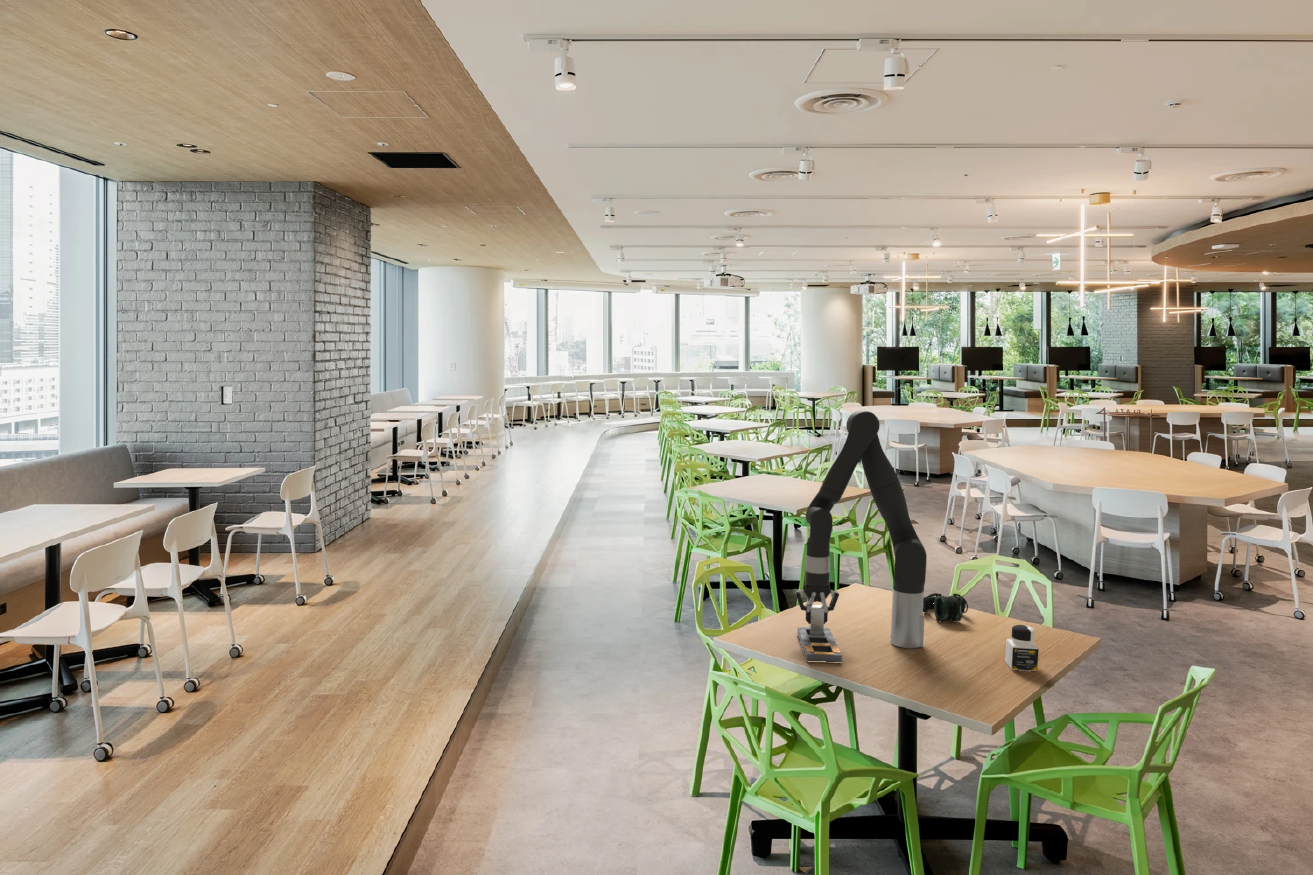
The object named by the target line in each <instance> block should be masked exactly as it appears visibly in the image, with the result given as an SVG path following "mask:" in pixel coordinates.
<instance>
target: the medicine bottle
mask: <svg viewBox="0 0 1313 875" xmlns="http://www.w3.org/2000/svg"><path fill="white" fill-rule="evenodd" d="M1035 632H1036V631H1035V629H1034V628H1033V627H1031V626H1029V625H1024V624H1016V625H1014V626H1012V627H1011V636H1010V637H1011V638H1007V639H1006V646H1005V647H1006V648H1005V663H1006V665H1007V666H1008V667H1009V669H1010V670H1011V671H1015V670H1019V672H1031V671H1037V672H1038V668H1039V666H1038V664H1039V651H1040V650H1039V647H1038V645H1036V643H1035V634H1036V633H1035Z"/></svg>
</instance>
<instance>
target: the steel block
mask: <svg viewBox="0 0 1313 875" xmlns="http://www.w3.org/2000/svg"><path fill="white" fill-rule="evenodd" d="M810 612H811V623H810V624H808V627H809V634H810V635H824V628H825V627H824V626H825V624H824V608H823V606H822V604H813V605H812V607H811V610H810Z"/></svg>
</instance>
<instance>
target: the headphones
mask: <svg viewBox="0 0 1313 875" xmlns="http://www.w3.org/2000/svg"><path fill="white" fill-rule="evenodd" d="M933 603H934V604H933ZM968 605H969V604H968V601H967V600H966V598H965V597H963V596H962V595H961V594H959V593H952V595H949V596H944V595H942V593H937V592H933V593H931V594H929V595H927V596H924V599H923V613H925V614H926V615H927V616H928V617H930V619H932V618H933V616H931V615H930V614H929V613H928V611H934V613H933V614H934V617H935V619H937V620H936V621H938V622H939V621H942V622H945V621H949V620H951V621H952V622H953V621H956V622H961V621H962V618H963V614H966V613H967V612H968V610H969V606H968ZM932 609H934V610H932Z"/></svg>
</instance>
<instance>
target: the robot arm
mask: <svg viewBox="0 0 1313 875" xmlns="http://www.w3.org/2000/svg"><path fill="white" fill-rule="evenodd" d="M845 425H846V431H847V437H846V440H845V442H844V444H843V446H842V449H841V451H840V452H839V455H838V456H837V457H836V459H835V461H834V462H833V464H832V465H831V467H829V470H828V471H827V473H826V475H825V477H824V480H823V482H822V484H821V485H820V488H819V489H818V490H819V491H818V492H817V493H816V495H815V496H814V497H813V499H812V500H811V502H810V503H809V505H808V507H807V510H806V512H805V519H806V522H807V523H808V524H809V527H810V528H809V537H808V538H807V541H806V555H805V556H806V557H805V568H804V569H805V571H804V578H805V580H804V587H803V589H798V590H797V589H796V590H795V591H794V593H795V596H796V598H797V603H798V605H799V608H800V610H801V611H805V621H806V623H808V625H809V624H810V623H811V612H810V610H811V607H812V605H814V603H815V602H816V603H817V602H818V603H821V605H822V606H823V608H824V625H826V623H827V622H828V619H829V618H828V615H829V612H830V611H831V612H833V611H834V609H835V608H836V606H837V605H836V604H837V602H838V599H839V597H840V593H839V592H838V591H837V590H832V589H831V586H830V584H831V583H830V582H831V580H830V579H831V578H830V577H831V575H830V574H831V560H830V558H831V557H830V550H831V549H830V548H831V546H830V542H831V536H832V531H833V525H834V524H833V516H832V513H831V511H832V509H833V507H834V505H835V504H837V503H839V502H840V500H841V499H842V497H843V495H844V493H845V490H846V489H847V487H848V485H849V483H850V480H851V478H852V476H853V474H854V472H855V469H856V468H857V466H858V464H859V461H860V460H861V464H862V468H863V472H864V475H865V478H866V479H865V480H866V481H867V485H868V488H869V490H870V493H871V496H872V498H873V501H874V504H875V505H876V508H877V511H878V512H879V514H880V515H881V517H882V519H883V521H884V522H885V524H886V527H887V530H888V533H889V536H890V540H891V543H892V547H893V553H894V572H893V574H894V575H893V581H892V603H891V605H892V606H891V623H890V624H891V626H890V643H891V644H892V645H893V646H896V647H898V648H904V649H918V648H924V641H925V640H924V639H925V637H924V636H925V620H926V619H925V618H926V617H925V616H924V614H923V613H924V612H923V599H924V597H925V596H924V595H925V593H924V592H925V583H926V574H927V551H926V549H925V546H924V544H923V543H922V541H921V539H920V538H919V537H918V534H917V533H916V530H915V528H914V526H913V523H912V520H911V519H910V515H909V508H908V504H907V500H906V497H905V494H904V490H903V486H902V484H901V482H900V479H899V477H898V474H897V473H896V471H895V468H894V467H893V465H892V463H891V462H890V460H889V458H888V457H887V455H886V454H885V451H884V450H883V448H882V445H881V440H880V438H879V437H880V436H879V434H878V433H879V430H880V426H881V425H880V419H879V418H878V416H877V415H876V414H875V413H874V412H871V411H869V410H868V411H867V410H858V411H854V412H853V413H852V412H851V414H850V415H849V416H848V418H847V421H846V424H845ZM804 594H805V595H806V597H807V601H806V605H804V602H803V596H804ZM829 596H830V597H831V599H830V603H829V605H827V600H826V599H827V598H828V597H829Z"/></svg>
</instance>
